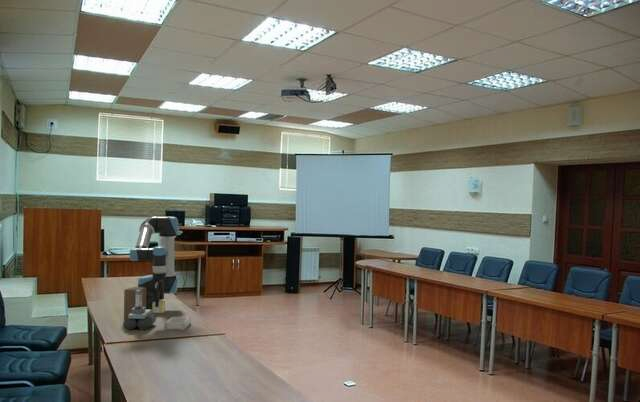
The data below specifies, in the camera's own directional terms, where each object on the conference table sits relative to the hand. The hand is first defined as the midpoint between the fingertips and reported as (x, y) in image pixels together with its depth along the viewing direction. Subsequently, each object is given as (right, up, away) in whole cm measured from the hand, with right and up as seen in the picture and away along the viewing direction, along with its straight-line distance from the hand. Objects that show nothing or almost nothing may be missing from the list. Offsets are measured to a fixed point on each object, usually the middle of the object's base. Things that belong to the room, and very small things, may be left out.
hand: (158, 311), depth 285 cm
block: (-21, -10, +17) cm, 28 cm away
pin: (-12, -1, 0) cm, 12 cm away
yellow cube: (0, 0, 0) cm, 0 cm away
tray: (+11, -10, +3) cm, 15 cm away
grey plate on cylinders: (-11, -10, 0) cm, 15 cm away
